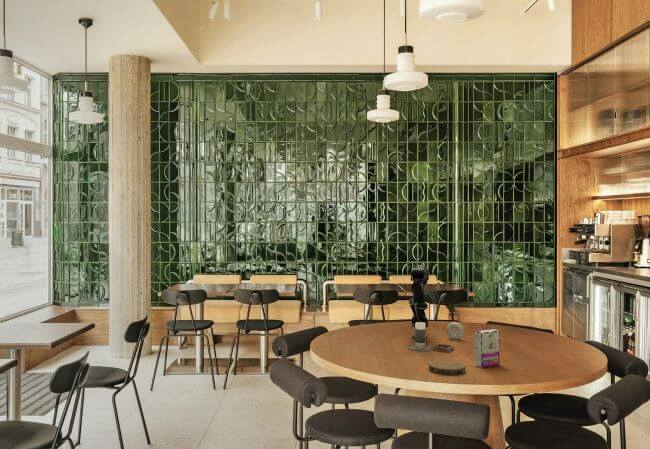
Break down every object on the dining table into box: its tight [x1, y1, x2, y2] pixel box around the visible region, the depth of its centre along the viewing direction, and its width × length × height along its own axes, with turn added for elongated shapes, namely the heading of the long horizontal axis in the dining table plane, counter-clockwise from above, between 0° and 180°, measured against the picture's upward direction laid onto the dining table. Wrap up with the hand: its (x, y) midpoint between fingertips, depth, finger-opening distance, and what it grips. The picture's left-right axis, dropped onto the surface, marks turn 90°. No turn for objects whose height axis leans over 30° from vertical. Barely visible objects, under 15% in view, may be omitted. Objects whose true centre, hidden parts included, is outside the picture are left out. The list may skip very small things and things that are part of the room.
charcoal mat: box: [407, 344, 432, 353], centre depth 300 cm, size 10×10×1 cm
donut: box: [445, 321, 465, 340], centre depth 325 cm, size 10×4×10 cm, turn 64°
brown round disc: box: [428, 359, 466, 376], centre depth 256 cm, size 16×16×3 cm
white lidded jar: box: [414, 322, 427, 349], centre depth 300 cm, size 6×6×13 cm
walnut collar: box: [431, 343, 455, 354], centre depth 298 cm, size 9×9×2 cm
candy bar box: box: [474, 328, 501, 369], centre depth 265 cm, size 11×5×16 cm, turn 117°
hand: (417, 319), depth 315 cm, fingers open, 9 cm apart
